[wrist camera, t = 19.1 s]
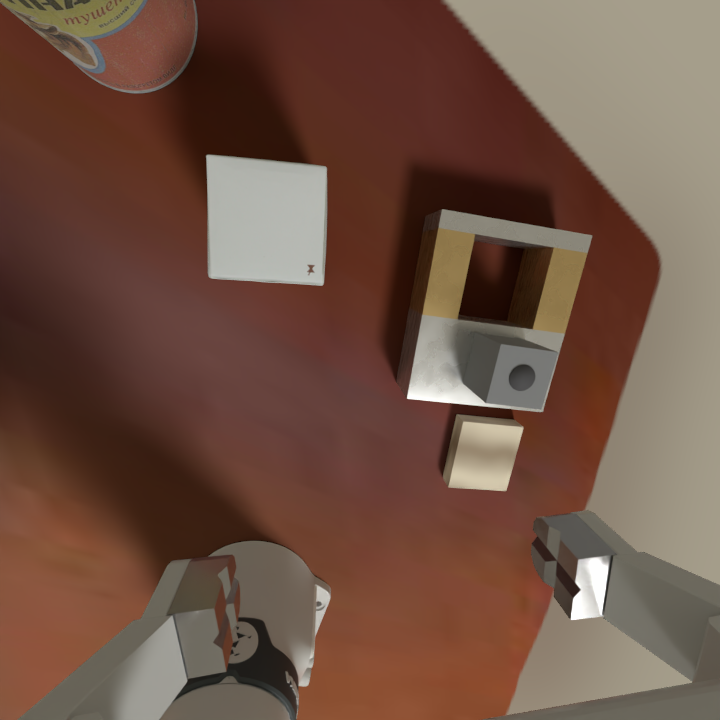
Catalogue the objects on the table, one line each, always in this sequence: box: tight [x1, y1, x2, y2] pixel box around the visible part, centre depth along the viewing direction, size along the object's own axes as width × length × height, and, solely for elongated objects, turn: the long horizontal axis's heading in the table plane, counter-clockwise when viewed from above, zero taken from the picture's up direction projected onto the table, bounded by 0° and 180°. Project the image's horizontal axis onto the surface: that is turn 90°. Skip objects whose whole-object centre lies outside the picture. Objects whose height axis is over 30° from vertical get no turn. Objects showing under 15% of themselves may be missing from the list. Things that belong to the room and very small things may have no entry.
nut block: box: [463, 332, 558, 410], centre depth 32 cm, size 5×5×5 cm
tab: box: [443, 414, 524, 491], centre depth 42 cm, size 8×7×2 cm
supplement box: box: [206, 154, 327, 286], centre depth 29 cm, size 7×7×13 cm
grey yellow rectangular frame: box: [396, 209, 592, 412], centre depth 36 cm, size 17×14×5 cm
